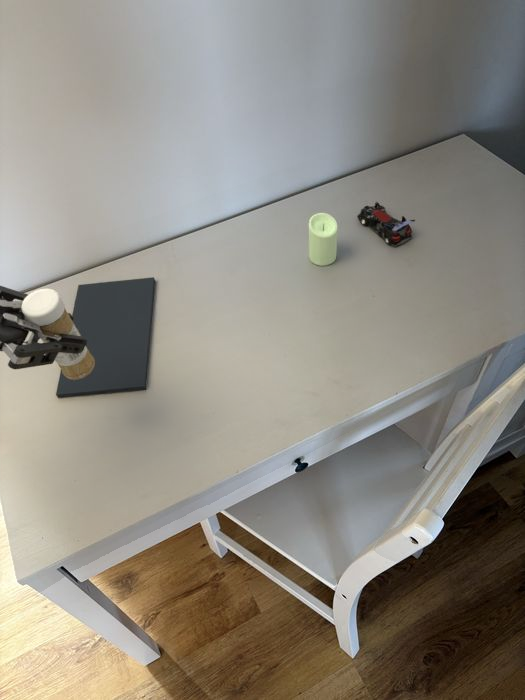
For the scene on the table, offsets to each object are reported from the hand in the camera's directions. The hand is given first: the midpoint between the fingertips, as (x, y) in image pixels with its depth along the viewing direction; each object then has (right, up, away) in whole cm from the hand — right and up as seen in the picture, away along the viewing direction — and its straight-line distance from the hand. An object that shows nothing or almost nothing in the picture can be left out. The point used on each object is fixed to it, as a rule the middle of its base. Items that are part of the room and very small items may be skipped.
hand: (76, 333), depth 69 cm
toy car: (+47, +21, +34) cm, 62 cm away
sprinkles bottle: (-1, -5, +4) cm, 6 cm away
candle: (+35, +15, +30) cm, 49 cm away
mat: (-2, 0, +22) cm, 22 cm away
